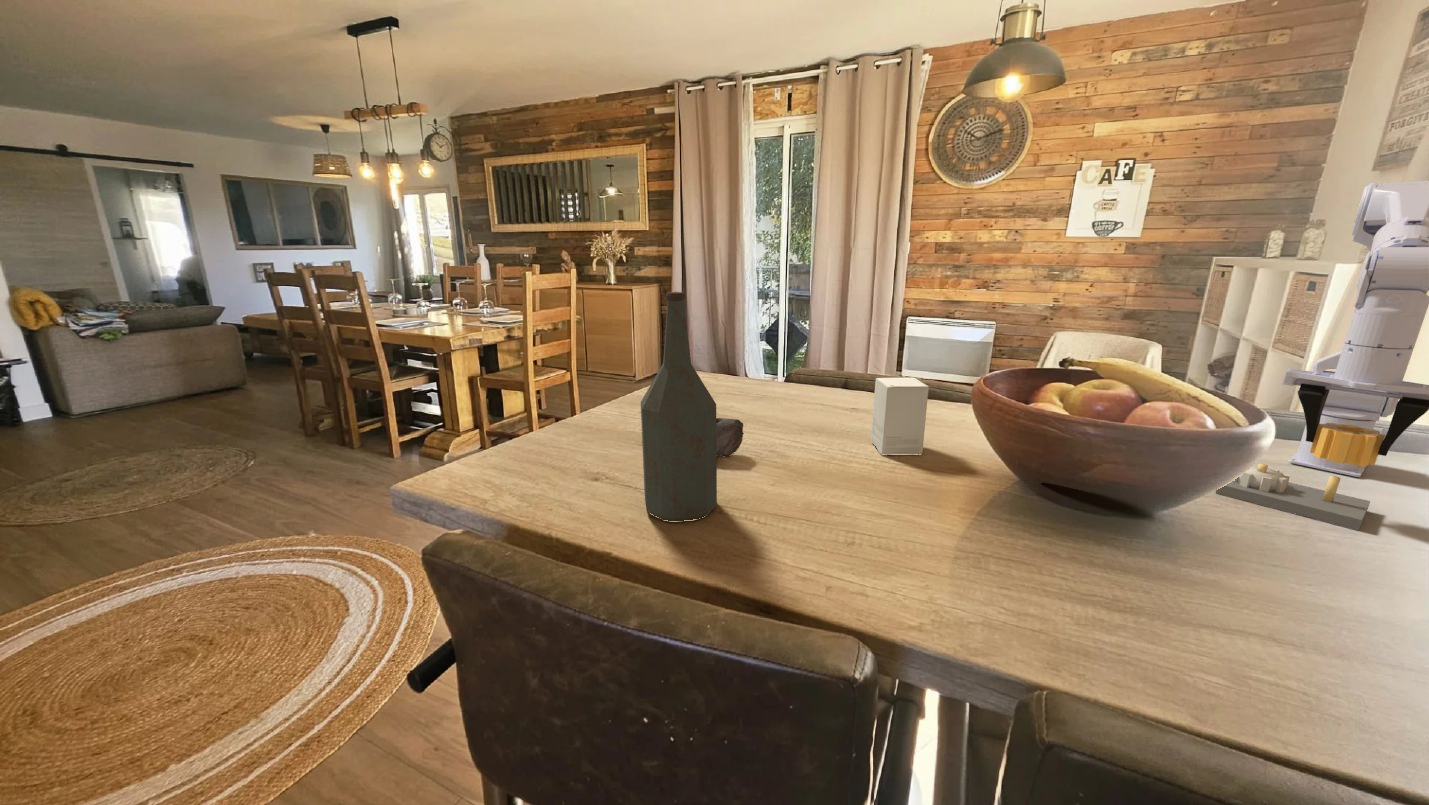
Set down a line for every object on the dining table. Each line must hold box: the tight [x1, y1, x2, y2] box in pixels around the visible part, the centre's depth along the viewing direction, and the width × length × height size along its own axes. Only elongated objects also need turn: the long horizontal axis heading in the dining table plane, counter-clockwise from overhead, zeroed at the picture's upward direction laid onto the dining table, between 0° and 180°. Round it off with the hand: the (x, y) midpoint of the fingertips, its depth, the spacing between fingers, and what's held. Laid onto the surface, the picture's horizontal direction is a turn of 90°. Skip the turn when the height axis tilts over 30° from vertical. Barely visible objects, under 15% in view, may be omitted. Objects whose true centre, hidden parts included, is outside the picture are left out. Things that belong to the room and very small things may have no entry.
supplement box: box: [870, 376, 930, 455], centre depth 98 cm, size 7×7×13 cm
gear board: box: [1215, 463, 1371, 531], centre depth 77 cm, size 9×14×5 cm, turn 36°
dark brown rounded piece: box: [716, 417, 745, 458], centre depth 96 cm, size 15×5×7 cm, turn 78°
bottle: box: [640, 291, 718, 521], centre depth 73 cm, size 10×10×30 cm
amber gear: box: [1310, 423, 1386, 467], centre depth 73 cm, size 6×6×4 cm
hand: (1345, 446), depth 73 cm, fingers closed on amber gear, 6 cm apart
